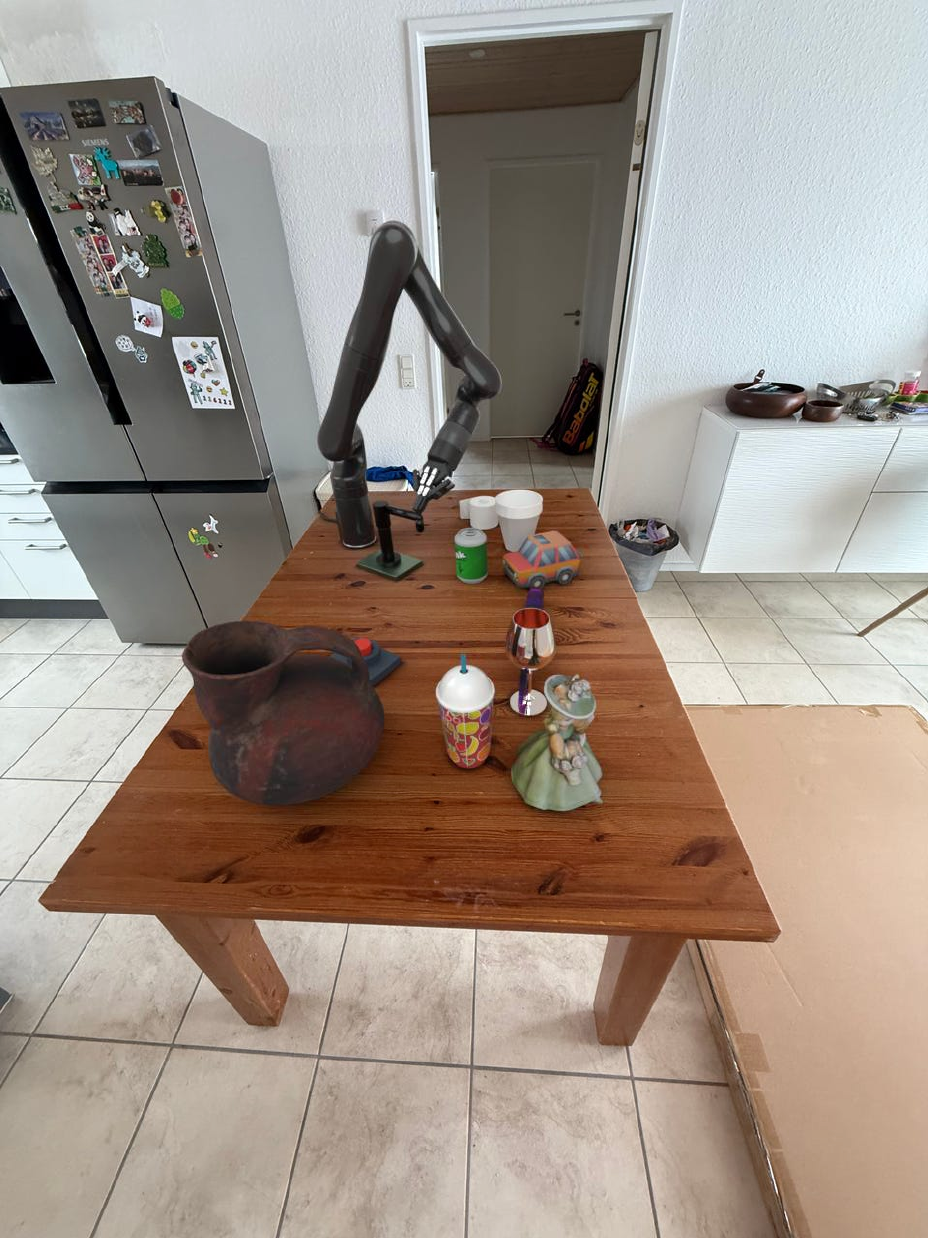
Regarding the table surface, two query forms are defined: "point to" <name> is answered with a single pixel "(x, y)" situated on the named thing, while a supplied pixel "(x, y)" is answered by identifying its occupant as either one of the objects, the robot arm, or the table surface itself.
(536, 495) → the cup
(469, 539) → the soda can
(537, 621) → the wineglass
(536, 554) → the toy car
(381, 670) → the button box
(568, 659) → the table surface
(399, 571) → the tap base
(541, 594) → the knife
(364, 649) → the button
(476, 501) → the toilet paper
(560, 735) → the figurine
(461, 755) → the smoothie
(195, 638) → the jug
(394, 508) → the spout
